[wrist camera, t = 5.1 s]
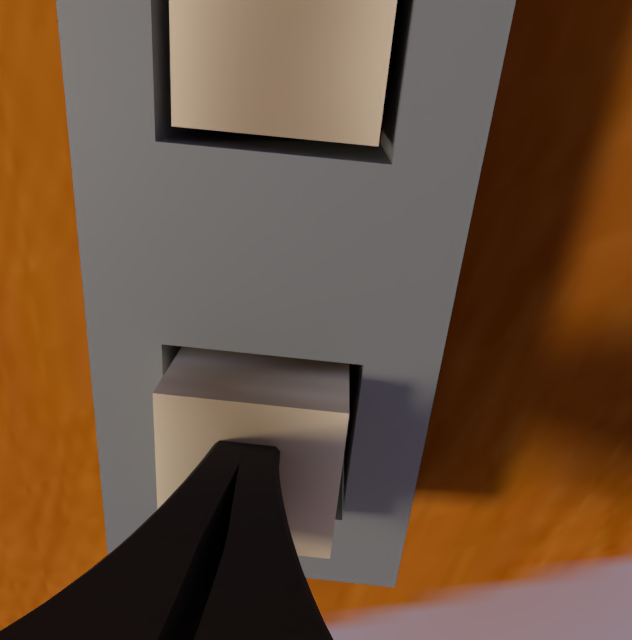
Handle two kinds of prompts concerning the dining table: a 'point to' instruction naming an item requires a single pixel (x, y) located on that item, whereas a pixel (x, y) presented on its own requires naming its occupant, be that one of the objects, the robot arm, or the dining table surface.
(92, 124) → the grey peg hole board
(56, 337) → the dining table surface
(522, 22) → the dining table surface
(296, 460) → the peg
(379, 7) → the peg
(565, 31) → the dining table surface
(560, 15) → the dining table surface
